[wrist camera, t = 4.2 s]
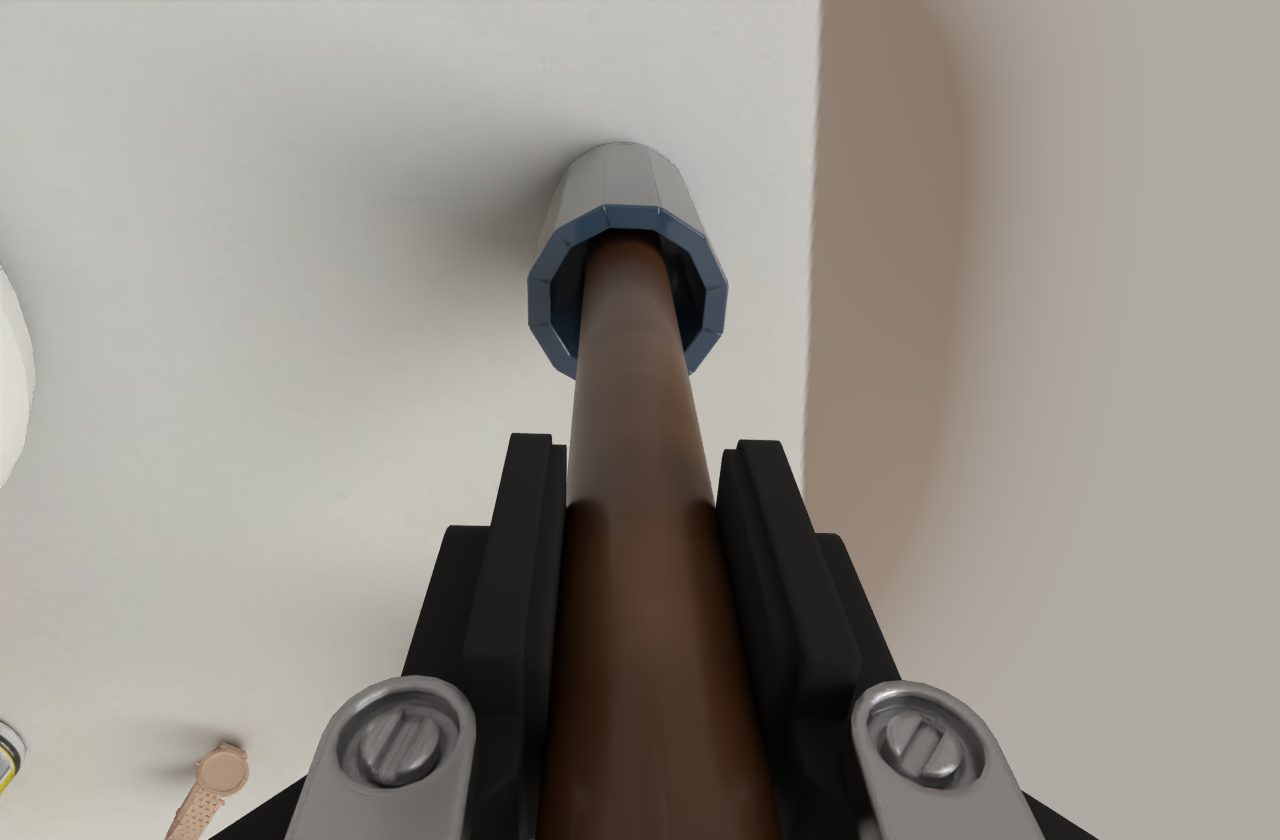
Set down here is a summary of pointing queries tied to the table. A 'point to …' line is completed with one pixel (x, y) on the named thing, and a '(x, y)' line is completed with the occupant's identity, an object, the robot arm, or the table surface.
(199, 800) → the tan wristwatch
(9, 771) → the supplement bottle
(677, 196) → the holder
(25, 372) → the bowl
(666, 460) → the stirring stick
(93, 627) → the table surface
